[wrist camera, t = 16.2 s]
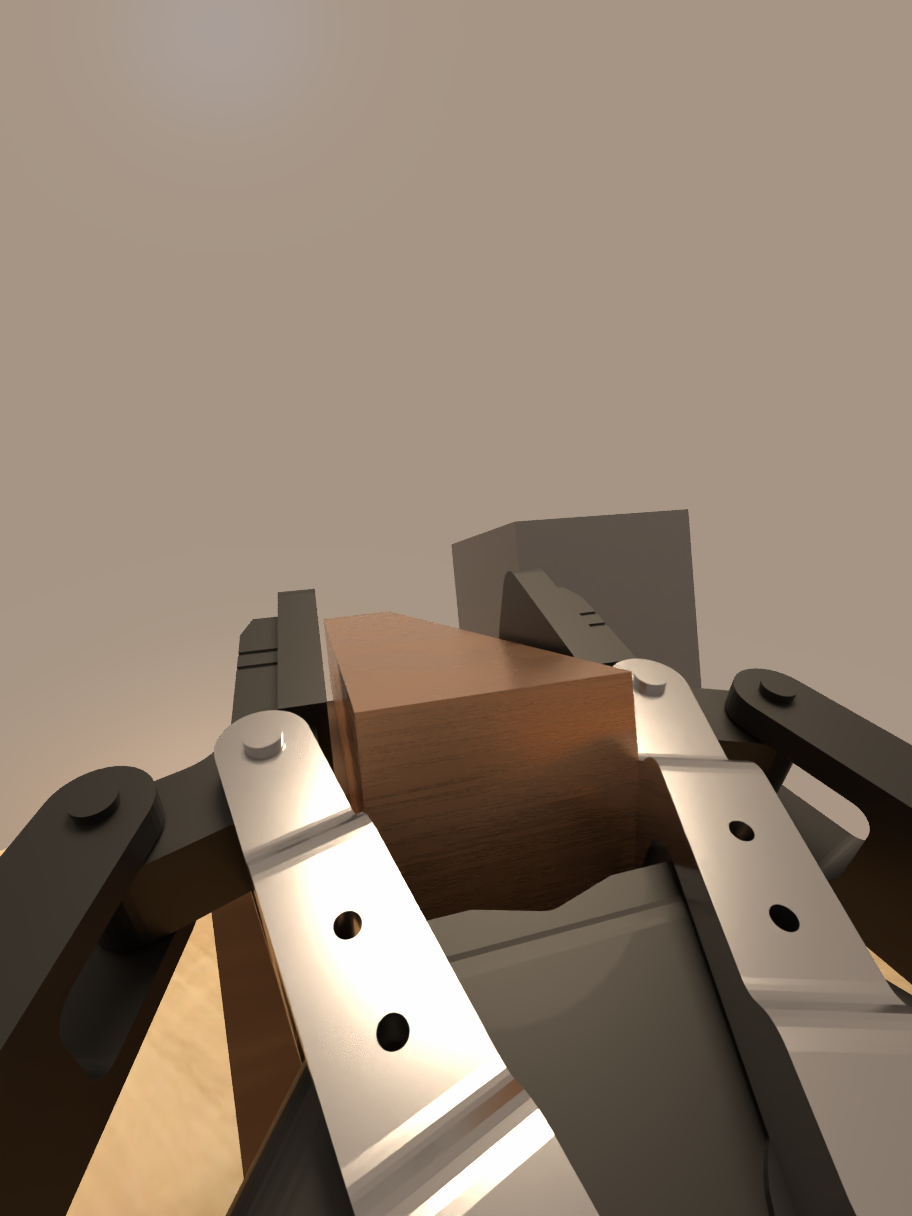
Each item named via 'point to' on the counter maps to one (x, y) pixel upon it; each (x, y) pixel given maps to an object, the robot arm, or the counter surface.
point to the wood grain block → (258, 1007)
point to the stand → (595, 578)
